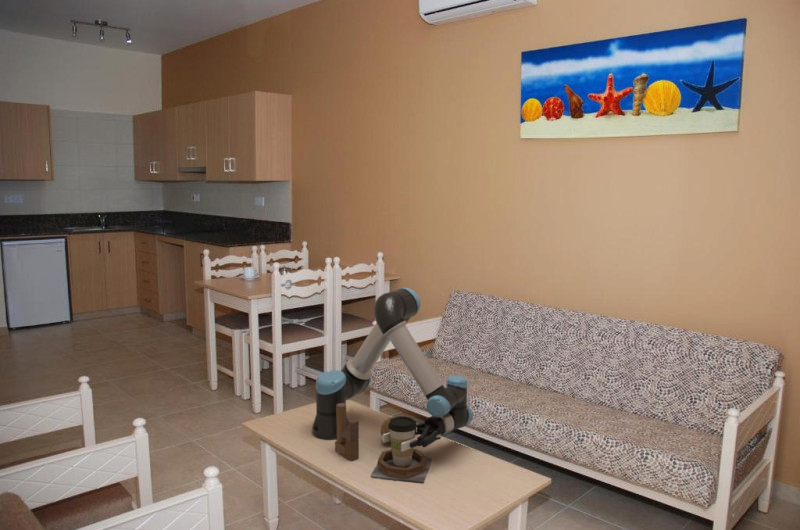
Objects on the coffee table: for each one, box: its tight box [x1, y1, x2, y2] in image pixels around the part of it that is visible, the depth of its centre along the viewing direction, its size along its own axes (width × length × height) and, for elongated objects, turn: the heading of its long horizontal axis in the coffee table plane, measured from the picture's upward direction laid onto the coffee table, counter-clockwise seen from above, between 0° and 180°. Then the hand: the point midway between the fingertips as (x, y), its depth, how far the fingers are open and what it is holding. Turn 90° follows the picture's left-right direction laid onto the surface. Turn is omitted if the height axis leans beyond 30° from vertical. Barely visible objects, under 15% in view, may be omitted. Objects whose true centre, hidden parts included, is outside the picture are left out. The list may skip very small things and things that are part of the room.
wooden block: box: [334, 403, 360, 461], centre depth 220 cm, size 4×11×18 cm, turn 38°
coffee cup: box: [388, 415, 417, 467], centre depth 209 cm, size 10×10×15 cm
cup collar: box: [370, 448, 433, 484], centre depth 210 cm, size 18×18×4 cm
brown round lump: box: [380, 417, 395, 443], centre depth 230 cm, size 9×9×10 cm
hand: (392, 443), depth 206 cm, fingers closed on coffee cup, 9 cm apart
